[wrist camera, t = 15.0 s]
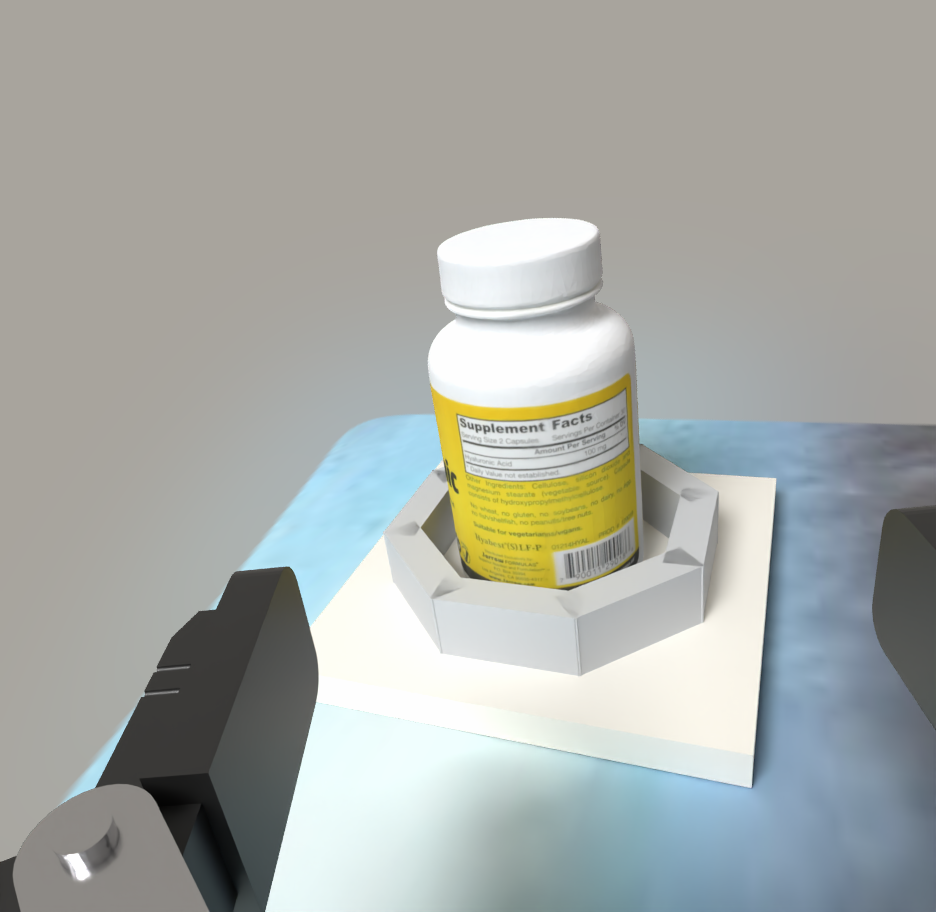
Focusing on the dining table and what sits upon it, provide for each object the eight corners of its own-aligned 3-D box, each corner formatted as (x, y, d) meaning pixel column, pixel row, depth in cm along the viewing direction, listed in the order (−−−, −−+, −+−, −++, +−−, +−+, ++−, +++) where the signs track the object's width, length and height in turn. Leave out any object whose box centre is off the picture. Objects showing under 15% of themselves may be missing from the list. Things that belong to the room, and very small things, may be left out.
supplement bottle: (495, 510, 27) (457, 215, 23) (658, 525, 25) (651, 205, 21) (433, 610, 23) (371, 270, 19) (623, 637, 21) (606, 263, 17)
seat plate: (775, 504, 27) (779, 429, 26) (751, 788, 18) (756, 692, 16) (448, 479, 32) (438, 414, 31) (286, 696, 22) (261, 614, 21)
